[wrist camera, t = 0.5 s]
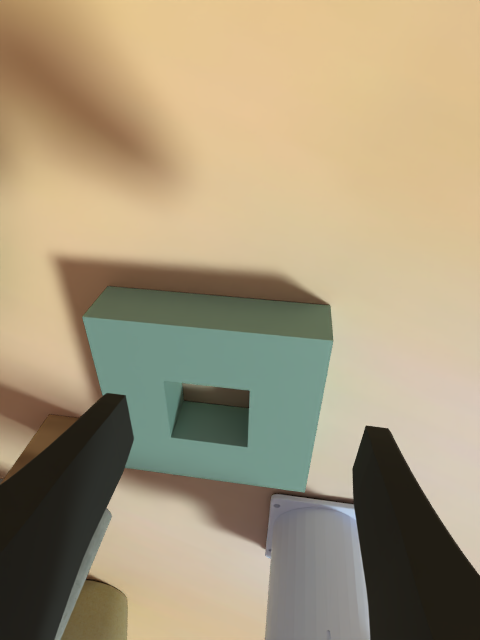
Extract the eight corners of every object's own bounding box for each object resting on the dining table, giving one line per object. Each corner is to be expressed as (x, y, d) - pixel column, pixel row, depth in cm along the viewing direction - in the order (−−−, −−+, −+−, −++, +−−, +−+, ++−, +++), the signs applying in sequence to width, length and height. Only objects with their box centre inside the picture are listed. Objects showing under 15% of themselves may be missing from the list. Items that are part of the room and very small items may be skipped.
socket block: (305, 452, 27) (304, 492, 25) (137, 431, 29) (121, 467, 26) (330, 305, 20) (333, 340, 18) (107, 286, 22) (82, 316, 19)
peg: (99, 447, 30) (51, 540, 25) (59, 442, 31) (3, 532, 25) (90, 419, 29) (36, 512, 23) (49, 414, 29) (-15, 504, 23)
